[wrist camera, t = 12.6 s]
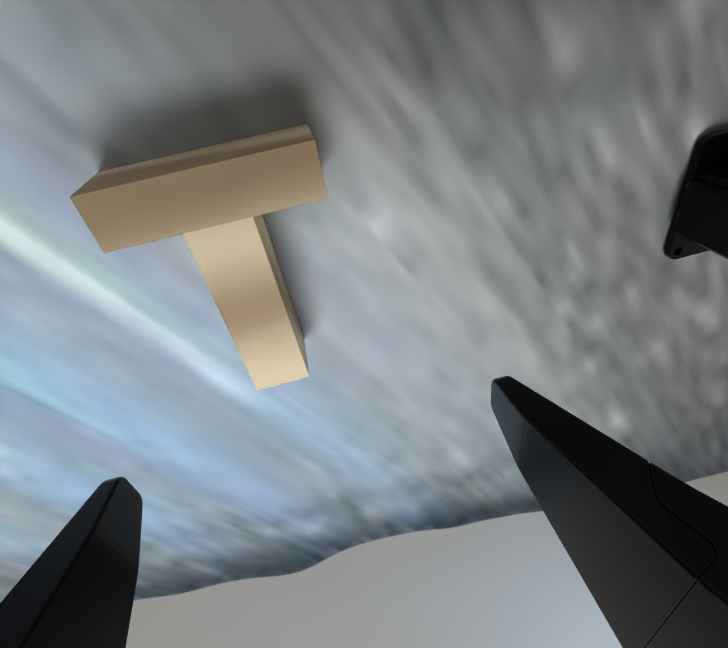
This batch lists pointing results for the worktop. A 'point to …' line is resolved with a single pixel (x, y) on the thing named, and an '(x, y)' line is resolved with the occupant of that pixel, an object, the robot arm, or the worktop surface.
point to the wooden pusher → (221, 231)
